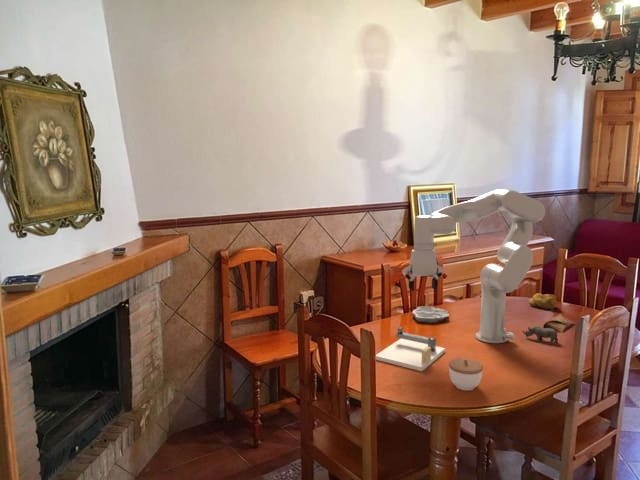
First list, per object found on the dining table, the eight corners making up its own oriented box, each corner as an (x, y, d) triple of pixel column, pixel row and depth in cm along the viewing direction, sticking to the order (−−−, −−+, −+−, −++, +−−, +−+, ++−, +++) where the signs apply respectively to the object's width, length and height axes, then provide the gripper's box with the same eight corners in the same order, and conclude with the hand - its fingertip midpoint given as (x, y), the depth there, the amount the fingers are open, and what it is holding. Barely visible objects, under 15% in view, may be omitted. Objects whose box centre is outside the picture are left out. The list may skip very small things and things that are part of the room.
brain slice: (450, 326, 227) (450, 319, 226) (411, 323, 230) (412, 317, 230) (448, 313, 246) (448, 307, 245) (412, 311, 249) (413, 305, 249)
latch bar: (436, 349, 194) (437, 334, 193) (433, 351, 192) (434, 336, 191) (399, 340, 203) (399, 326, 202) (395, 343, 201) (396, 328, 200)
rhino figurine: (523, 336, 213) (524, 322, 212) (558, 342, 206) (559, 328, 205) (521, 338, 210) (521, 325, 209) (556, 345, 202) (557, 331, 201)
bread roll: (526, 307, 254) (527, 291, 253) (531, 302, 262) (532, 287, 260) (554, 311, 247) (555, 295, 245) (558, 306, 254) (559, 291, 253)
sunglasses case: (563, 333, 215) (556, 319, 217) (548, 338, 220) (541, 324, 221) (576, 323, 228) (569, 309, 230) (561, 328, 233) (554, 314, 234)
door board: (445, 351, 196) (445, 337, 195) (422, 371, 178) (422, 355, 177) (400, 341, 207) (401, 328, 206) (374, 359, 189) (375, 344, 188)
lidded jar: (476, 396, 159) (478, 368, 158) (443, 388, 165) (444, 361, 163) (485, 384, 168) (486, 357, 167) (453, 376, 174) (454, 351, 172)
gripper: (440, 244, 202) (439, 285, 205) (399, 246, 199) (399, 288, 202) (448, 247, 195) (447, 290, 198) (405, 249, 192) (405, 293, 195)
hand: (422, 289), depth 200 cm, fingers open, 9 cm apart
